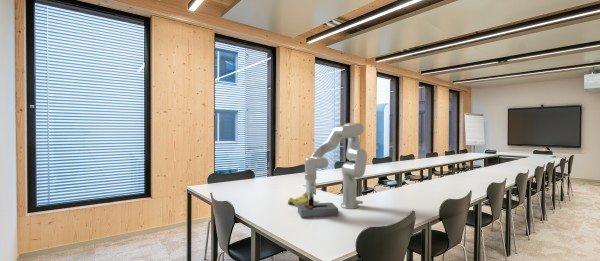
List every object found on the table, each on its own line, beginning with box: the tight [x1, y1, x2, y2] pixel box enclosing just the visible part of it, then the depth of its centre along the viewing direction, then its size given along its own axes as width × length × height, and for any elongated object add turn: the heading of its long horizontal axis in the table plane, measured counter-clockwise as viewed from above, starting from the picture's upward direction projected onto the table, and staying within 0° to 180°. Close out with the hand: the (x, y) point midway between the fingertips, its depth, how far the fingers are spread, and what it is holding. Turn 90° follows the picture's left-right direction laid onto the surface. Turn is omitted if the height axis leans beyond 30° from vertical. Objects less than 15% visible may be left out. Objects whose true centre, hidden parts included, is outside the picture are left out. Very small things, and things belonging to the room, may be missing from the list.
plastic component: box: [287, 191, 308, 208], centre depth 212 cm, size 20×7×10 cm
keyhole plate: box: [297, 202, 339, 219], centre depth 186 cm, size 24×14×5 cm, turn 100°
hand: (310, 204), depth 185 cm, fingers closed on peg, 3 cm apart
